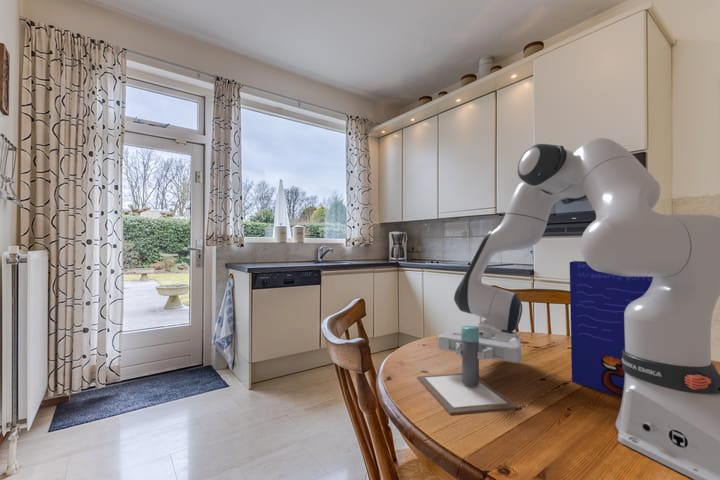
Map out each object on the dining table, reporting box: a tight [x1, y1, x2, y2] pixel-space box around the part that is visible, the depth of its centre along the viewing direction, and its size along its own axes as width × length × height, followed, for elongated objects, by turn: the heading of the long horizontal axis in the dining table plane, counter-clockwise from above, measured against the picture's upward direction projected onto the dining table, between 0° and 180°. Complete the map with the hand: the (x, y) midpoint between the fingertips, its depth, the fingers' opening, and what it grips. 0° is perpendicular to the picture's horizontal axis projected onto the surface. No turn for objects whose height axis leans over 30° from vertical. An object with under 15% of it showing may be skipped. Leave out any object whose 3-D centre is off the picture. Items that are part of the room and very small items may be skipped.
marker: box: [460, 325, 480, 386], centre depth 79 cm, size 4×4×13 cm
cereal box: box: [569, 260, 653, 398], centre depth 76 cm, size 22×6×30 cm, turn 36°
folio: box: [416, 372, 519, 415], centre depth 77 cm, size 19×15×1 cm
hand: (469, 353), depth 78 cm, fingers closed on marker, 4 cm apart
